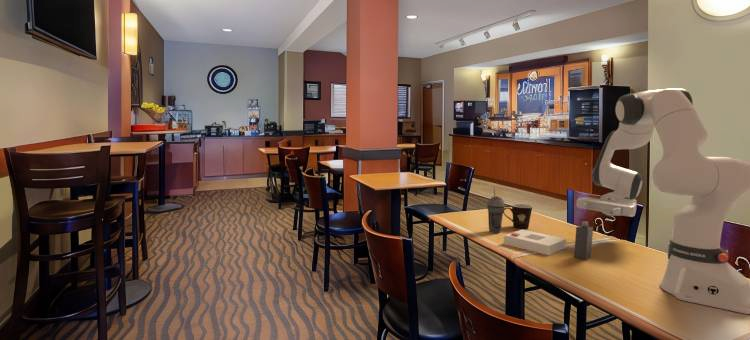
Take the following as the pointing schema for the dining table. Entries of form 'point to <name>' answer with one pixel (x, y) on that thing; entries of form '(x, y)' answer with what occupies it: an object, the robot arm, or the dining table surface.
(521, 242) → the flat white box
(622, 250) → the dining table surface
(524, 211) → the coffee mug
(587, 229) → the dark grey bottle
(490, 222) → the beverage cup
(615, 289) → the dining table surface
